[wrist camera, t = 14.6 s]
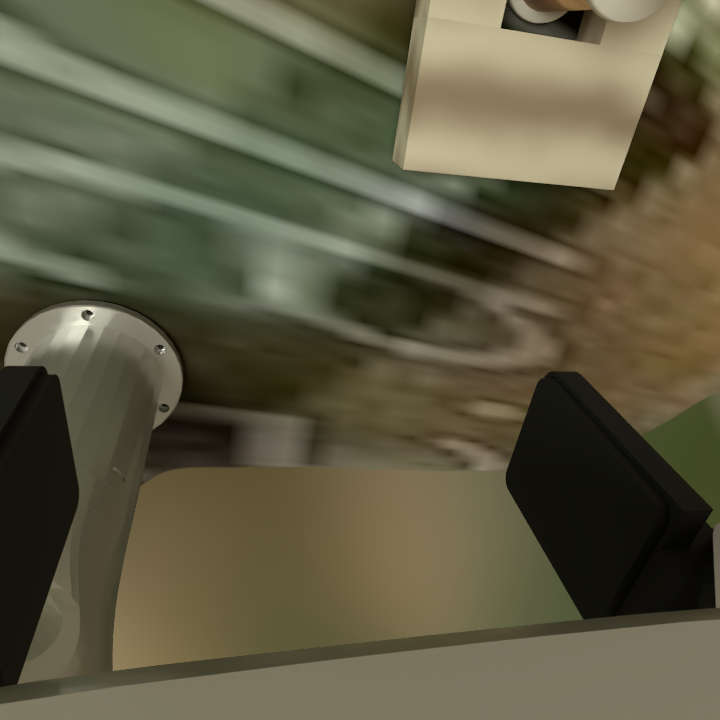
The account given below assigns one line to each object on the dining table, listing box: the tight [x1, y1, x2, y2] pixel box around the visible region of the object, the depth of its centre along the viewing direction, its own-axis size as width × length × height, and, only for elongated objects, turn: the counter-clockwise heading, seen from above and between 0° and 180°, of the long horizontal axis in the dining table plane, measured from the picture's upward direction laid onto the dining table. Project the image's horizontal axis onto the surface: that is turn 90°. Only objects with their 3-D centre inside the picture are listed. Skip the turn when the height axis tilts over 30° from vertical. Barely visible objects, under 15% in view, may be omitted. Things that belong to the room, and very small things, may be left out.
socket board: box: [392, 0, 682, 190], centre depth 34 cm, size 18×16×3 cm
